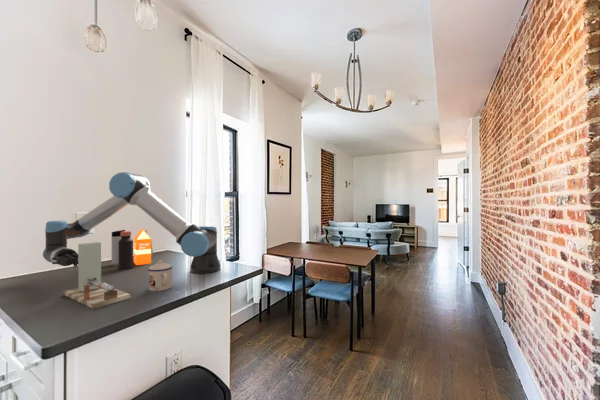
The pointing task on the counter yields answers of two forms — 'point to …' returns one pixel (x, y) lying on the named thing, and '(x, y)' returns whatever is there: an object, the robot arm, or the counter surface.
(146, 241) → the orange juice
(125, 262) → the vinegar
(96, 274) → the pale green block
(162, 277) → the teacup with lid
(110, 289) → the steel rod
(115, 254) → the travel mug
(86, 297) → the rail base
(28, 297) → the counter surface
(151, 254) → the squeeze bottle
